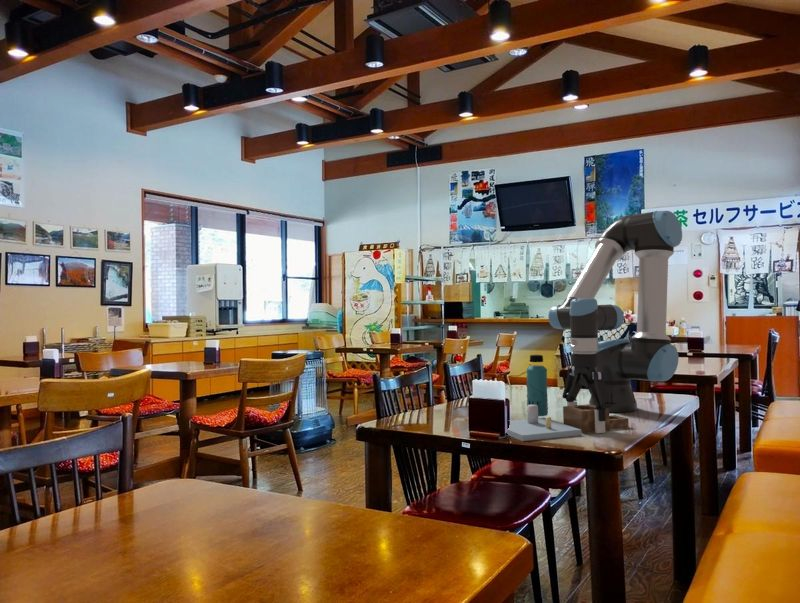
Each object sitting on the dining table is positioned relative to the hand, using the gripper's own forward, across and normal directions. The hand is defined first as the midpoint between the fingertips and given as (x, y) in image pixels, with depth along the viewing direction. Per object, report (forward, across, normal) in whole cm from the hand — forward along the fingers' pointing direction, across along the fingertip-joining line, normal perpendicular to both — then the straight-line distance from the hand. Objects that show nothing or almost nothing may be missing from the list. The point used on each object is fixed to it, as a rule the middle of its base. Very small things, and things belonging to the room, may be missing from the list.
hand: (586, 428), depth 174 cm
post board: (0, -3, -15) cm, 15 cm away
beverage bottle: (0, -18, -5) cm, 19 cm away
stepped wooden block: (0, 0, +4) cm, 4 cm away
